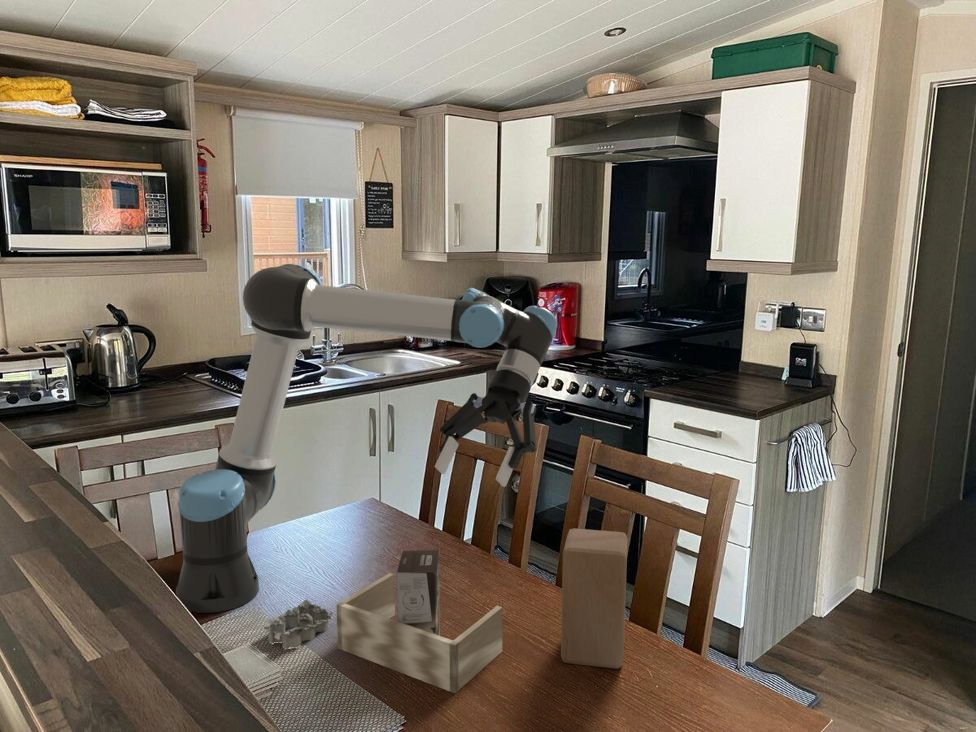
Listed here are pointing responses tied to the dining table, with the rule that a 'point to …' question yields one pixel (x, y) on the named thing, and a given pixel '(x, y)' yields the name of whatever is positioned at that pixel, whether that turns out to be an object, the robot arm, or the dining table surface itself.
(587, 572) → the block
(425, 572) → the coffee box
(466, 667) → the wooden u-shaped frame
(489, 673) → the dining table surface
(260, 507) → the robot arm
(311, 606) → the egg carton
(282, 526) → the dining table surface
